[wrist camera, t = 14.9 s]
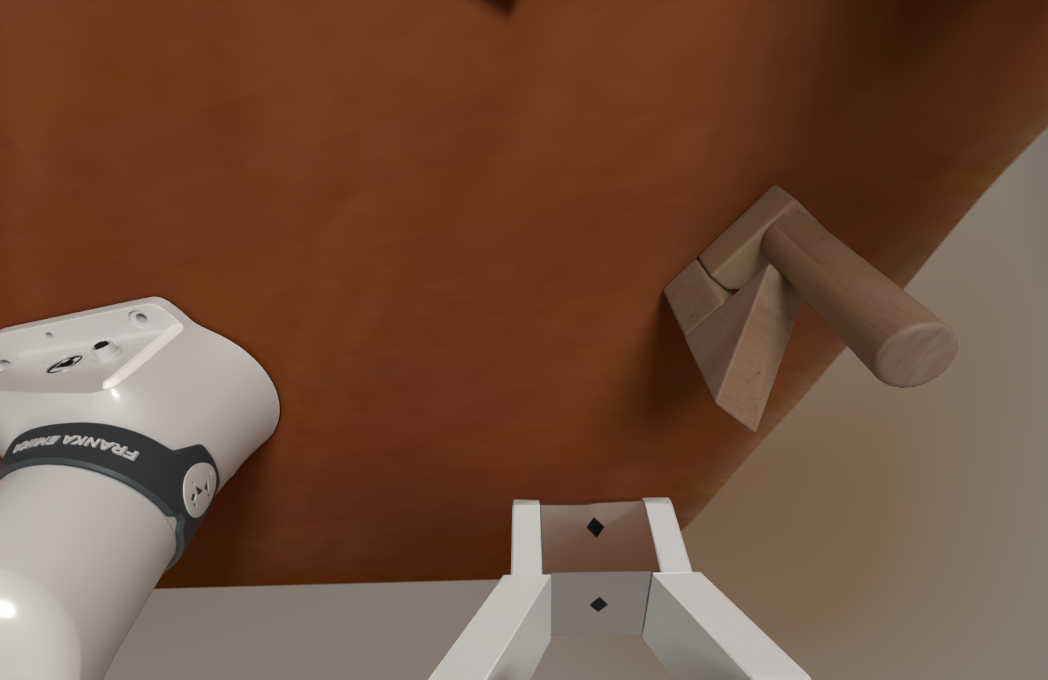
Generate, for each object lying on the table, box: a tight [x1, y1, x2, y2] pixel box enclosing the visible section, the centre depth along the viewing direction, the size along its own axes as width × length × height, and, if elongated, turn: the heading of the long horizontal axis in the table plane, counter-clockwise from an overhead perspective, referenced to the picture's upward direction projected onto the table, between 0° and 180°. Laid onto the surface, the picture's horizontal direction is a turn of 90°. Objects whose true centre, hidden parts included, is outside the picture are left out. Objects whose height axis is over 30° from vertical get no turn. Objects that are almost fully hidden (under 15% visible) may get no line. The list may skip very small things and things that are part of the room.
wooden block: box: [663, 185, 958, 432], centre depth 34 cm, size 4×11×18 cm, turn 141°
